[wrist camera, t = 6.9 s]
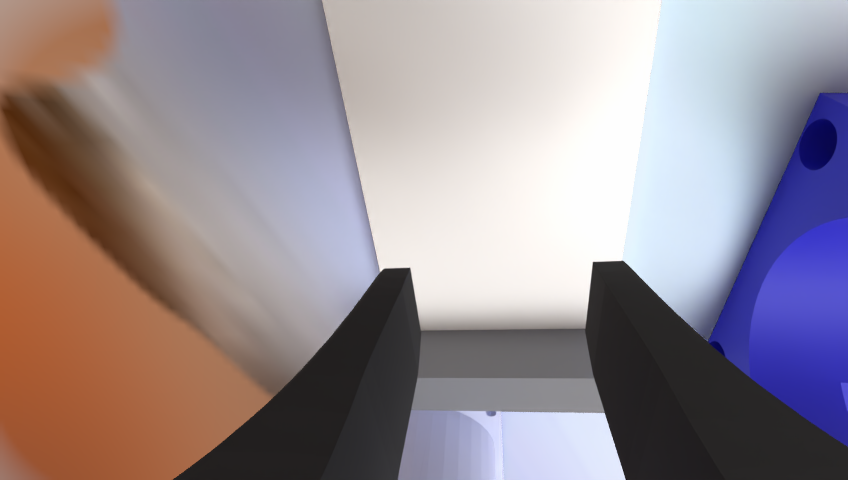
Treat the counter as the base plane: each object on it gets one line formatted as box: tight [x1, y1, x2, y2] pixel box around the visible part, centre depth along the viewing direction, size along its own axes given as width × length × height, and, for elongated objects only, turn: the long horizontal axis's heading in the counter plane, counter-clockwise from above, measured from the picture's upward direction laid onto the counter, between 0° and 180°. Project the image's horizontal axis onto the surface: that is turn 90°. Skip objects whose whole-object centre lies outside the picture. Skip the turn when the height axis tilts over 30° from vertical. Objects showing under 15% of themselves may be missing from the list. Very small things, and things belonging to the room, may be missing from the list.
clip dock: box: [322, 0, 662, 413], centre depth 15 cm, size 18×9×3 cm, turn 7°
